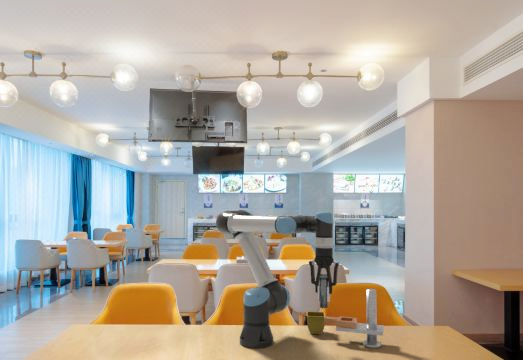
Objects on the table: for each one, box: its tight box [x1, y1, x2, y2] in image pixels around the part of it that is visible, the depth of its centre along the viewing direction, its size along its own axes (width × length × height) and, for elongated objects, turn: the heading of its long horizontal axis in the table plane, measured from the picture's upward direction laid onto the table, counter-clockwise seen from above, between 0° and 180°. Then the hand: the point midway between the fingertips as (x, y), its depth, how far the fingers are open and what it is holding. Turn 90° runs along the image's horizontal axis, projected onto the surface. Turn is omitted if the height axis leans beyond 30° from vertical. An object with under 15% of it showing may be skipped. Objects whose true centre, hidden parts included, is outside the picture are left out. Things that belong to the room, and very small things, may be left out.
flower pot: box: [306, 311, 326, 335], centre depth 201 cm, size 9×9×9 cm
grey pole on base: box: [324, 288, 385, 349], centre depth 188 cm, size 26×10×24 cm, turn 70°
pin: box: [319, 273, 329, 309], centre depth 183 cm, size 5×5×14 cm
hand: (323, 300), depth 183 cm, fingers closed on pin, 3 cm apart
